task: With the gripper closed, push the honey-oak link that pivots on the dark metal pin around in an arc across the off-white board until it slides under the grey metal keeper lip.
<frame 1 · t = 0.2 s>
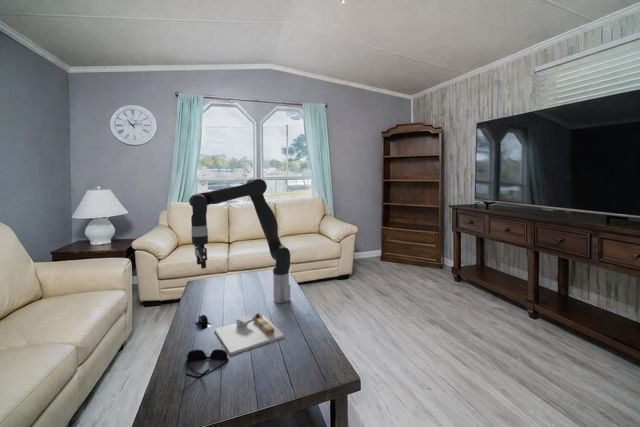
hand: (201, 266, 150), 29 cm above the table, tool pointing down, fingers open, 8 cm apart
oak link: (263, 322, 145), point 3 cm above the table, hinge at 0.0°
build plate: (203, 325, 150), on the table
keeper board: (257, 323, 151), on the table
sunglasses: (202, 371, 114), on the table
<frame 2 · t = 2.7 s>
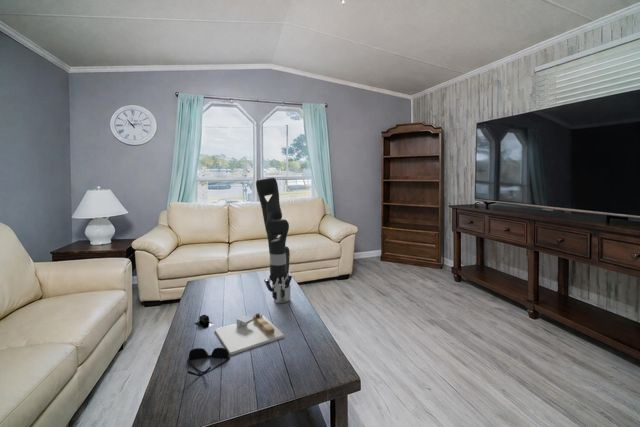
hand: (278, 298, 140), 17 cm above the table, tool pointing down, fingers open, 3 cm apart
sunglasses: (204, 369, 116), on the table
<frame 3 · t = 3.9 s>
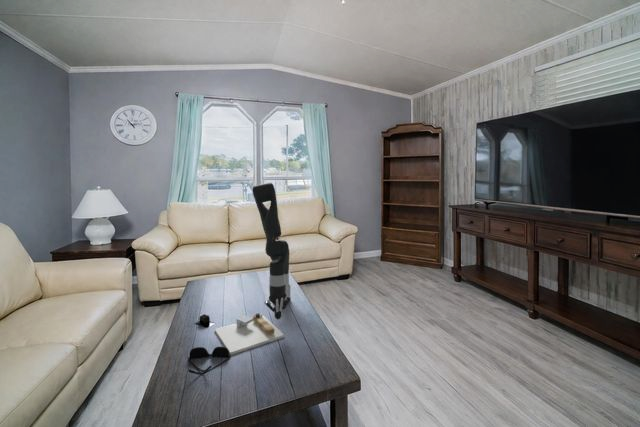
hand: (277, 318, 141), 7 cm above the table, tool pointing down, fingers closed
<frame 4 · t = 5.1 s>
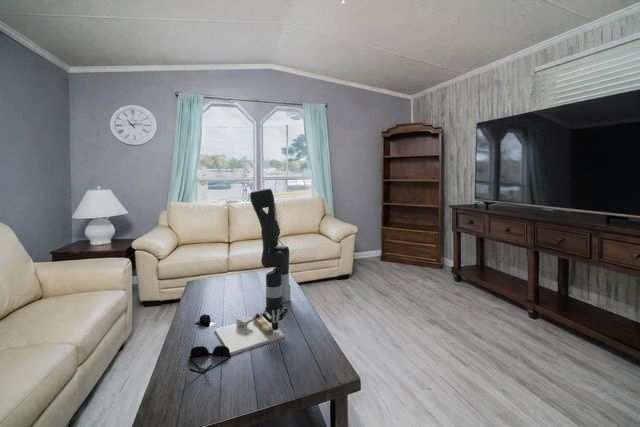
hand: (275, 329, 140), 2 cm above the table, tool pointing down, fingers closed
oak link: (262, 322, 145), point 3 cm above the table, hinge at -1.7°, touching gripper
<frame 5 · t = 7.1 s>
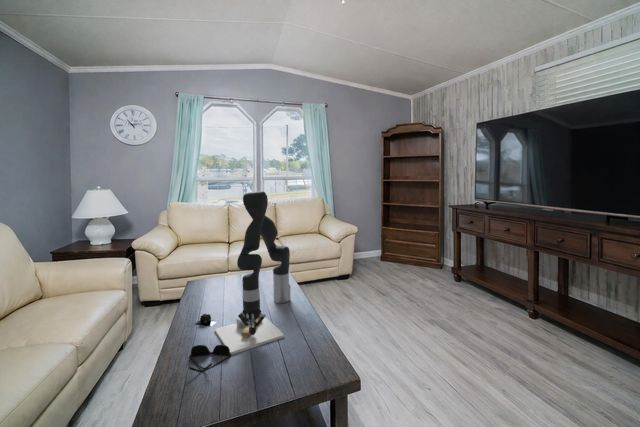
hand: (252, 334, 136), 2 cm above the table, tool pointing down, fingers closed
oak link: (252, 323, 144), point 3 cm above the table, hinge at -44.0°, touching gripper
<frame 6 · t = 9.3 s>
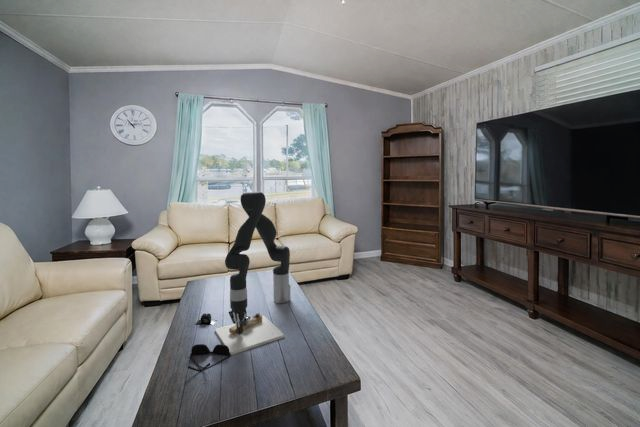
hand: (239, 333, 137), 2 cm above the table, tool pointing down, fingers closed
oak link: (246, 322, 145), point 3 cm above the table, hinge at -70.9°
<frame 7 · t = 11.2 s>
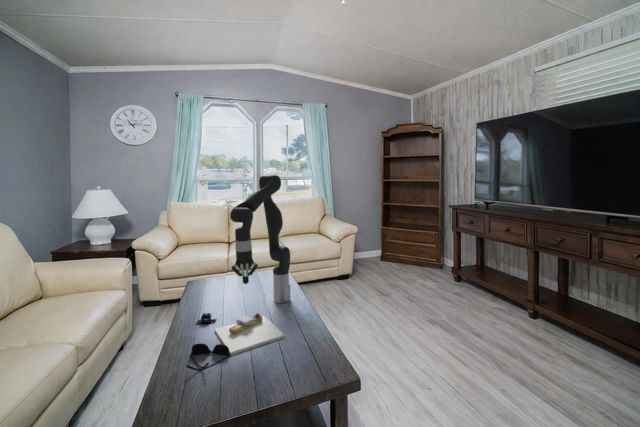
hand: (245, 283, 146), 22 cm above the table, tool pointing down, fingers closed
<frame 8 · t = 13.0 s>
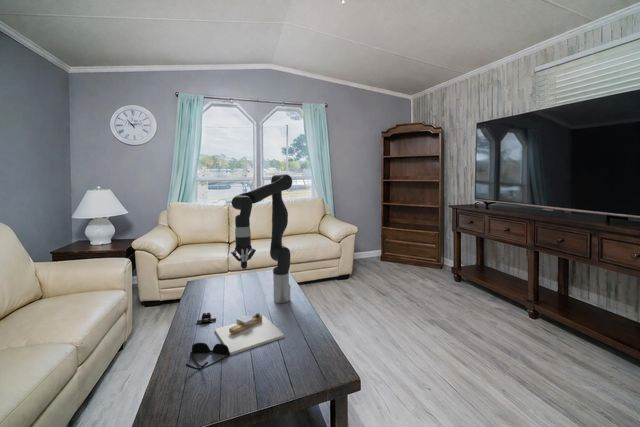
hand: (244, 268, 153), 27 cm above the table, tool pointing down, fingers closed
at the end: oak link at -71° (first picture: +0°) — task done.
